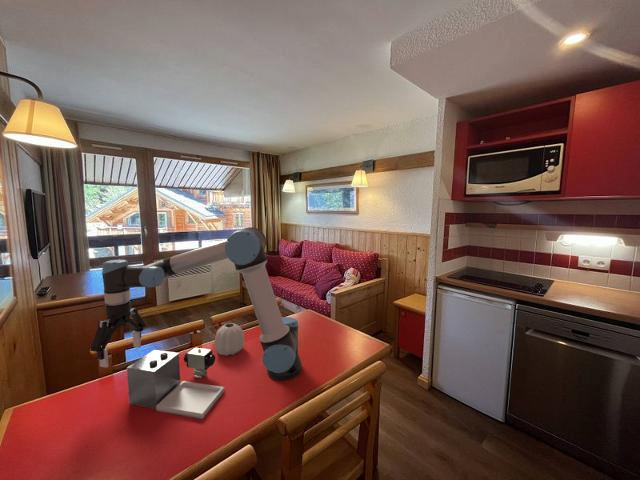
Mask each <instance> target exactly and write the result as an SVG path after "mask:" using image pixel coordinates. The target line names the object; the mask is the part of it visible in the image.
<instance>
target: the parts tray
mask: <svg viewBox="0 0 640 480" xmlns="http://www.w3.org/2000/svg"><path fill="white" fill-rule="evenodd" d="M224 393H225V386H221V385H212V384H208V383H207V384H205V383H200V382H193V381H187V380H183V381H180V384H179V385H178V386H177V387H176V388H175V389H174V390H173V391H172V392H171V393H169V394H168V395H167V396H166V397H165V398H164V399H163V400H162V401H161V402H160V403H159V404H158V405H156V409H155V411H156V412H159V413H160V412H161V413H166V414H171V415H176V416H182V417H186V418H194V419H200V420H203V419H204V418H205V417H206V415H207V414H208V413H209V412H210V410H211V409H212V408H213V406H215V404H216V403H218V402H217V401H218V400H219V399H220V398H221V396H222V395H223V394H224Z"/></svg>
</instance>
